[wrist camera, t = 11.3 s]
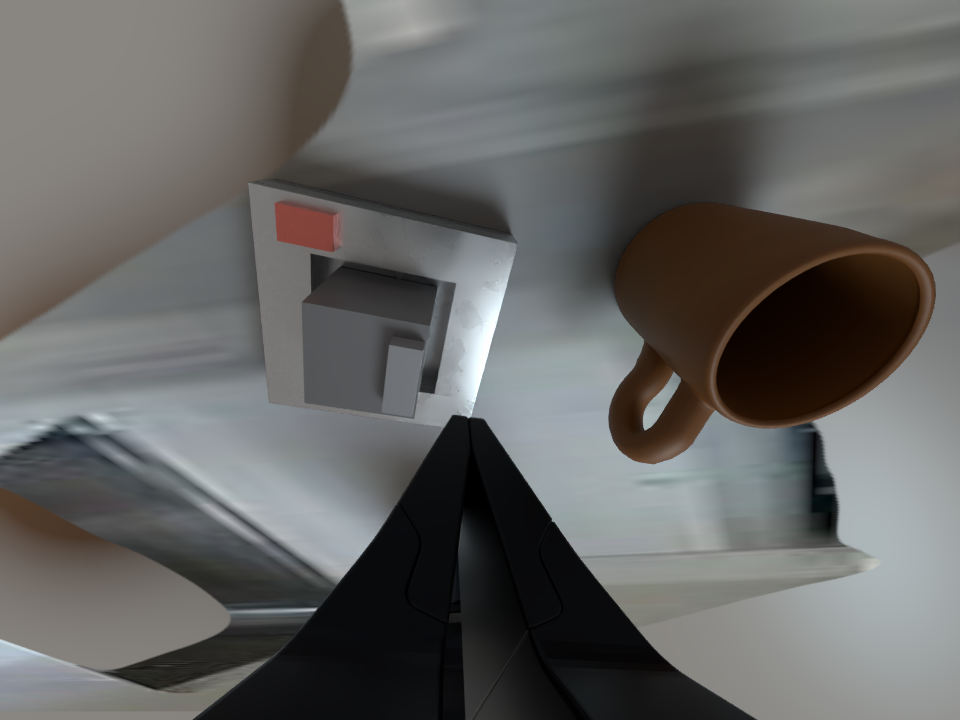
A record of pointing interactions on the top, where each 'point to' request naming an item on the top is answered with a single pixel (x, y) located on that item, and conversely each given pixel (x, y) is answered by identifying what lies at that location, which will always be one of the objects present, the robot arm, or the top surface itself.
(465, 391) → the socket plate
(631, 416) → the mug
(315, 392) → the plug
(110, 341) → the top surface
